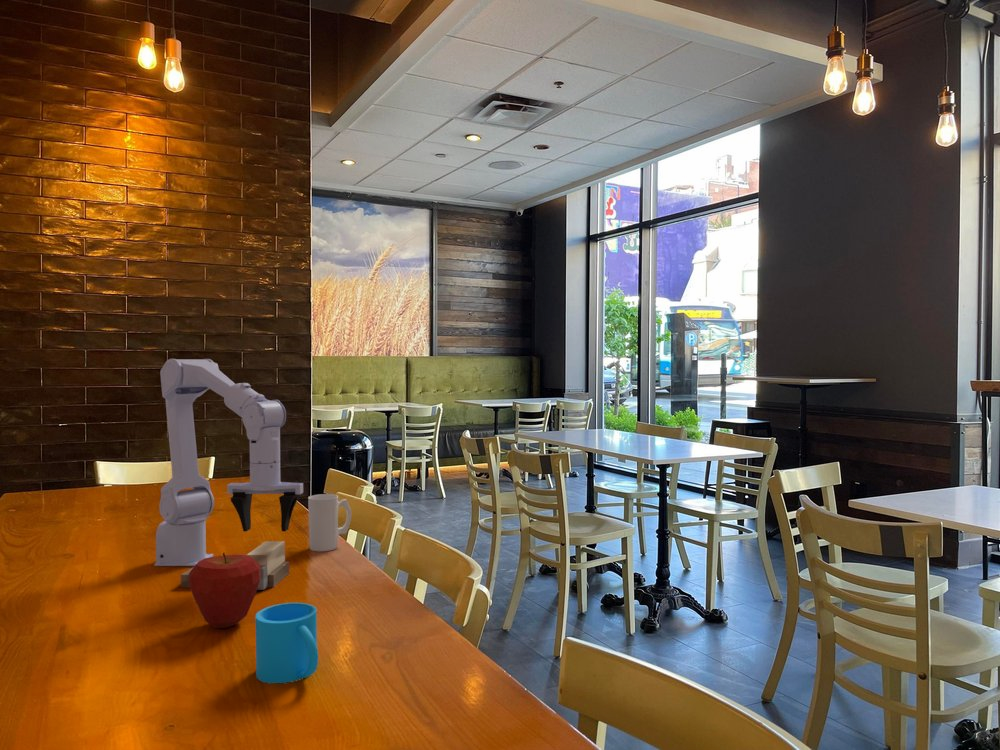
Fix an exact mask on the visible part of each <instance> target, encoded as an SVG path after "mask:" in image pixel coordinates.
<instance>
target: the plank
mask: <svg viewBox="0 0 1000 750" xmlns="http://www.w3.org/2000/svg"><path fill="white" fill-rule="evenodd" d="M193 568H194V566H192V567H191V568H190V569H188V570H187V571H185V572H183V573H181V574H180V588H190V587H189V573H190V571H191V570H192V569H193ZM289 574H290V561H284V562H283V563H282V564H281V565H279V566H278V567H277V568H276V569H275V570H274V571H272V572H271V573H270V574H269V575H268V576H267V577H268V586H267V587H266V588H275V587H276V586H277V585H278V584H279V583H280V582H282V580H284V579H285V578H286V577H287V576H288V575H289Z"/></svg>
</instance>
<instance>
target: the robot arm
mask: <svg viewBox="0 0 1000 750" xmlns="http://www.w3.org/2000/svg"><path fill="white" fill-rule="evenodd" d="M159 372H160V375H159V376H160V383H161V384H160V385H161V395H162V398H163V399H165V401H164V402H165V408H166V409H165V410H166V423H167V431H168V432H167V433H168V442H169V443H168V444H169V454H170V462H171V463H170V464H171V474H172V475H171V476H172V477H171V478H170V479H169V480H167V482H166V483H165V484H164V485H162V487H161V488H160V500H159V501H160V502H159V504H158V505H159V506H158V508H159V513H160V516H161V517H162V518H163V521H162V522H160V523H159V525H158V526H157V529H156V533H155V561H156V562H155V563H154V567H194V566H195V565H196V564H197V563H198V562H199V561H201V560H202V559H204V558H209V557H214V553H207V543H206V542H207V541H206V535H207V533H206V530H207V529H206V528H207V527H206V524H207V523H206V520H207V519H208V520H209V515H210V514H211V513H212V512H213V509H214V508H215V507H214V506H215V498H214V497H215V496H214V495H213V493H212V490H211V485H210V481H209V480H208V479H206V478H205V477H203V476H202V475H200V471H199V462H198V451H197V441H196V431H195V422H194V421H195V420H194V409H193V408H194V407H193V403H194V402H195V401H196V399H197V398H199V397H201V396H202V395H203V394H204V393H206V392H207V391H208V390H211V391H213V392H214V393H216V395H219V396H221V397H223V402H224V405H225V406H226V407H227V408H228V409H230V410H231V411H232V412H234V413H235V414H237V415H238V416H239V417H241V418H242V423H243V426H244V428H245V430H246V437H247V439H248V440H249V482H230V483H229V484H227V485H226V488H227V489H226V491H227V493H226V494H227V495H230V496H231V495H232V497H230V502H231V503H232V505H233V506H234V509H235V510H236V512H237V514H238V518H239V520H240V524H241V527H242V532H248V531H250V530H251V529H252V528H251V525H252V517H251V511H252V509H251V508H252V507H251V506H252V497H253V494H255V495H257V494H258V495H266V494H267V495H268V494H269V495H273V494H274V495H279V497H278V499H279V500H278V501H279V505H280V512H281V513H280V515H281V516H280V517H281V518H280V519H281V522H280V524H281V525H280V527H281V532H287V531H288V530H289V527H290V522H291V518H292V514H293V510H294V508H295V506H296V504H297V502H298V499H299V497H300V495H302V494H303V493H304V482H290V481H289V482H286V481H281V428H282V427H283V426H284V425H285V424H286V421H287V410H286V408H285V406H284V404H283V403H282V402H281V401H280V400H279V399H272V400H270V399H267V398H266V396H265V395H264V394H261V393H258V392H257V391H256V390H254V389H252V388H251V384H250V383H248V382H239V383H235V382H234V381H233V380H231V379H230V378H229V377H228V376H227V375H225V374H224V373H223V372H222V371H221V370H220V368H219V364H218V363H217V362H214V361H213V360H212V359H210V358H203V359H200V358H199V359H197V358H196V359H195V358H193V359H188V358H187V359H179V358H178V359H176V358H169V359H167V360H166V361H165V362H164V363H163V366H162V367H161V369H160V371H159ZM191 488H193V489H191ZM281 494H282V495H281Z"/></svg>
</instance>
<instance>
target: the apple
mask: <svg viewBox="0 0 1000 750" xmlns="http://www.w3.org/2000/svg"><path fill="white" fill-rule="evenodd" d="M193 567H194V568H193ZM193 567H192V568H193V569H192V570H191V571H190V573H189V587H188V588H189V589H190V592H191V594H192V596H193V599H194V601H195V604H196V605H197V607H198V609H199V612H200V613H201V615H202V618H203V619H204V621H205V622H206V623H207V624H209V625H210V626H212V627H213V628H215V629H225V628H229V627H233V626H235V625H237V624H238V623H241V621H243V619H244V618H246V617H247V615H248V612H249V610H250V608H251V605H252V604H253V601H254V598H255V596H256V593H257V591H258V590H257V588H258V585H259V582H260V579H261V566H260V564H259V563H258V562H257V561H256V560H255V559H254V558H252V557H251V556H247V554H225V552H223V553H222V555H218V556H213V557H209V558H204V559H202V560H201V561H199V562H198V563H197V564H196V565H195V566H193Z"/></svg>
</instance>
